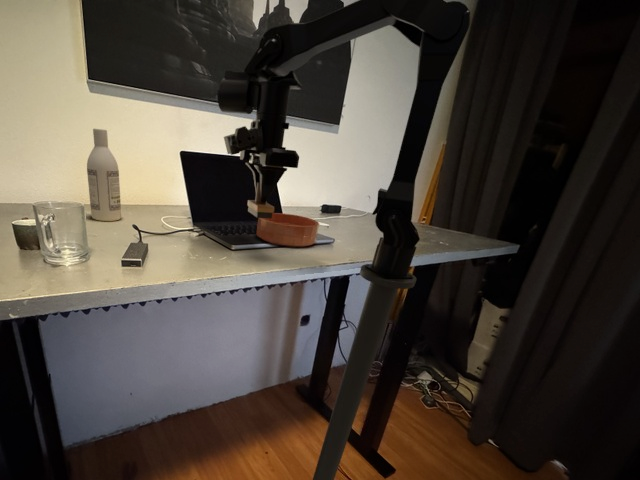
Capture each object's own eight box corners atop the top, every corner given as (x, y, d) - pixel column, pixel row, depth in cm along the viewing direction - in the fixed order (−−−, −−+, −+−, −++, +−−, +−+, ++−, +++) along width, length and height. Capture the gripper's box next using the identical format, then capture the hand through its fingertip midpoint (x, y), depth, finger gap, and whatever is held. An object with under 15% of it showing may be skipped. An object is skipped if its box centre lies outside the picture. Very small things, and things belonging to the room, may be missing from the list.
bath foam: (122, 216, 86) (117, 131, 77) (120, 222, 80) (114, 130, 71) (93, 214, 84) (85, 127, 75) (89, 220, 78) (80, 126, 69)
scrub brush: (273, 218, 66) (277, 186, 63) (256, 218, 65) (260, 184, 62) (262, 211, 72) (265, 181, 70) (246, 211, 71) (249, 180, 69)
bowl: (325, 249, 76) (330, 227, 74) (266, 247, 72) (269, 225, 70) (300, 233, 89) (304, 214, 86) (249, 230, 85) (251, 211, 83)
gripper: (219, 113, 67) (215, 192, 74) (242, 105, 51) (234, 207, 57) (270, 120, 70) (261, 195, 76) (307, 114, 54) (292, 210, 60)
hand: (261, 201), depth 68 cm, fingers closed on scrub brush, 2 cm apart
